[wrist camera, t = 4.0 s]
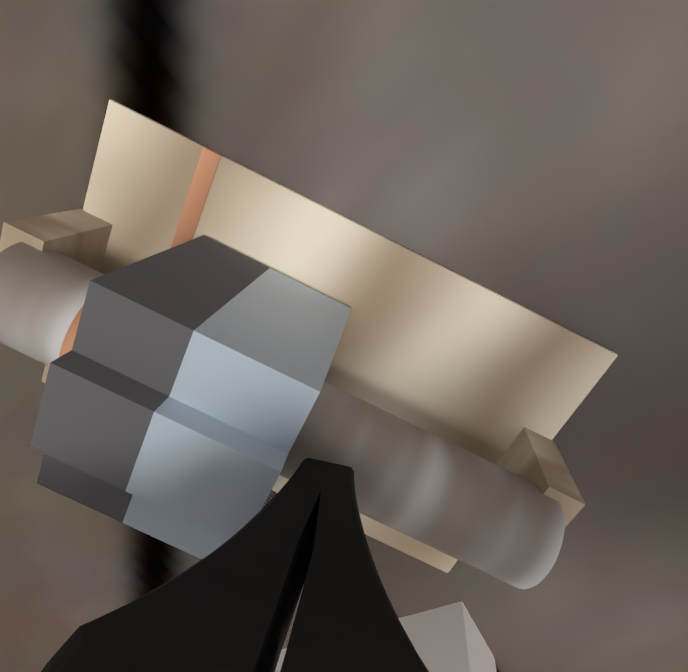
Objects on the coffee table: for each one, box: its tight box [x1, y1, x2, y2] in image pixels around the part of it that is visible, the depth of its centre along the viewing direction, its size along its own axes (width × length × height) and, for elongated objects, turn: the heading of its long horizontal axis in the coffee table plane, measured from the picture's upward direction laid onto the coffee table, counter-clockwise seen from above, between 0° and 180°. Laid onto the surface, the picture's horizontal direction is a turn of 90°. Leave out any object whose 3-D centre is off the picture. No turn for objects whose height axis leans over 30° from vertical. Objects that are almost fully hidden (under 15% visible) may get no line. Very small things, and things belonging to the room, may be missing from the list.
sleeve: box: [122, 268, 352, 559], centre depth 14 cm, size 3×6×7 cm, turn 155°
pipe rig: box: [0, 99, 618, 589], centre depth 15 cm, size 18×11×5 cm, turn 65°
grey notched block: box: [30, 235, 269, 522], centre depth 14 cm, size 2×6×7 cm, turn 154°
